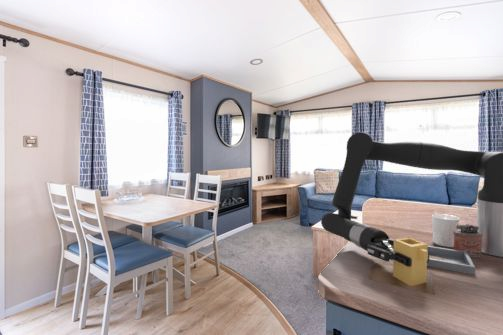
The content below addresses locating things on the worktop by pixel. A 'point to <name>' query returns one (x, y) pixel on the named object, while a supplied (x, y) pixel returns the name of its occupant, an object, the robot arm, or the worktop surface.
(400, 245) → the yellow open box
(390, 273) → the board
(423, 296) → the worktop surface
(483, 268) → the worktop surface
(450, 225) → the white cup
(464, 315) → the worktop surface
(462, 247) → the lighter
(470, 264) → the tray
